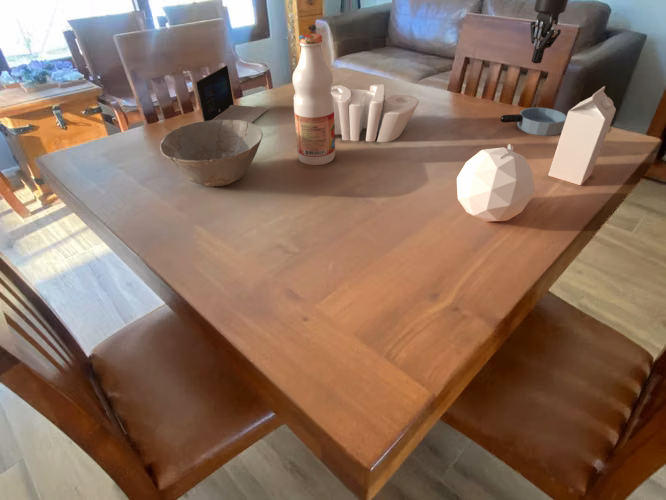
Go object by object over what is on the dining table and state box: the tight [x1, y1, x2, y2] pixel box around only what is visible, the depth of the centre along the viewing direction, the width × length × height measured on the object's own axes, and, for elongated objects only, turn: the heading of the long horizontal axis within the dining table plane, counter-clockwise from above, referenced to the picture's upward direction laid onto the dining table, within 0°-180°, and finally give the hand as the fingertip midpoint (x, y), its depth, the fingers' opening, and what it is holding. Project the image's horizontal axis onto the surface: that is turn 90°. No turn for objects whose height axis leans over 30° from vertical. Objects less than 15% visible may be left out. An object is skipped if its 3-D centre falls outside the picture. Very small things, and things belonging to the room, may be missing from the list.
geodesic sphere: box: [456, 143, 535, 223], centre depth 81 cm, size 15×14×14 cm
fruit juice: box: [291, 33, 336, 166], centre depth 99 cm, size 9×9×28 cm
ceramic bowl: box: [159, 120, 264, 188], centre depth 97 cm, size 22×23×10 cm
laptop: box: [195, 64, 269, 124], centre depth 126 cm, size 18×12×13 cm
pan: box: [500, 107, 567, 137], centre depth 118 cm, size 18×12×4 cm
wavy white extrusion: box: [293, 83, 420, 143], centre depth 118 cm, size 35×16×11 cm, turn 77°
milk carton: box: [547, 85, 617, 186], centre depth 91 cm, size 7×7×19 cm
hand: (535, 62), depth 119 cm, fingers closed
